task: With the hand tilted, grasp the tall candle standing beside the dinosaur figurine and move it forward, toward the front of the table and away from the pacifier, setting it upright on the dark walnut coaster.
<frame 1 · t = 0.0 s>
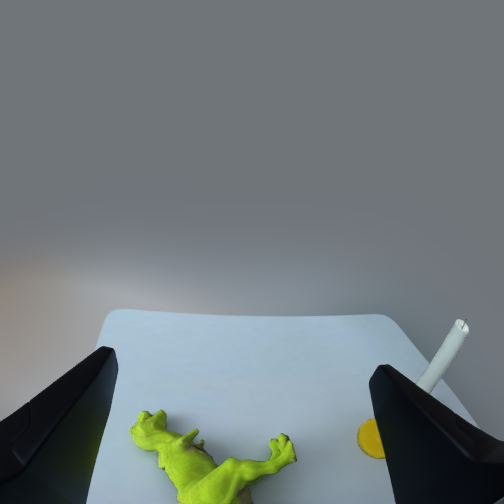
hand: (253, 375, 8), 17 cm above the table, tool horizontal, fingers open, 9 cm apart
dinosaur figurine: (218, 496, 15), on the table
candle: (378, 439, 21), on the table
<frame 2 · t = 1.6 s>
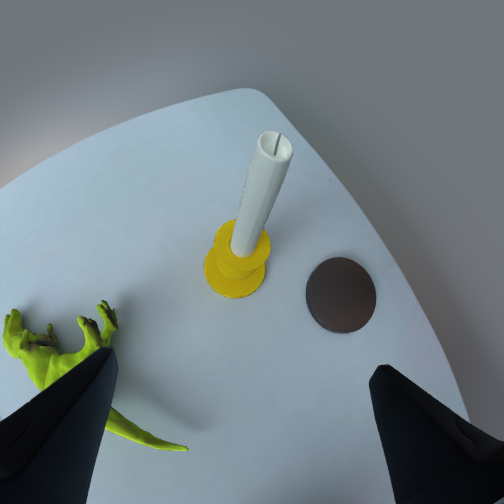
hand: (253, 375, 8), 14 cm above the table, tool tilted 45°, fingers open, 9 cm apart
dinosaur figurine: (84, 379, 18), on the table
candle: (234, 269, 24), on the table
coaster: (340, 295, 24), on the table
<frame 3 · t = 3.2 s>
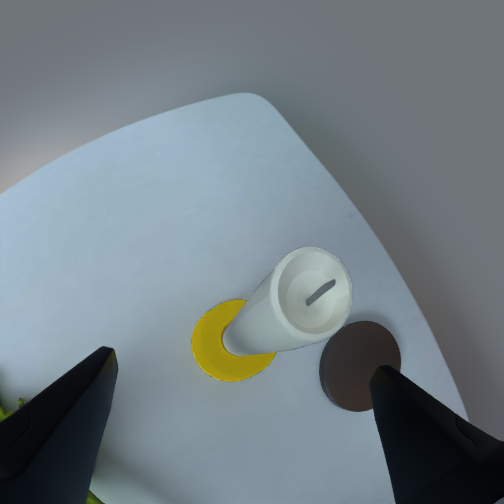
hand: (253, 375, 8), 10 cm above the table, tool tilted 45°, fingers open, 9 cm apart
candle: (230, 343, 18), on the table
coaster: (360, 366, 18), on the table
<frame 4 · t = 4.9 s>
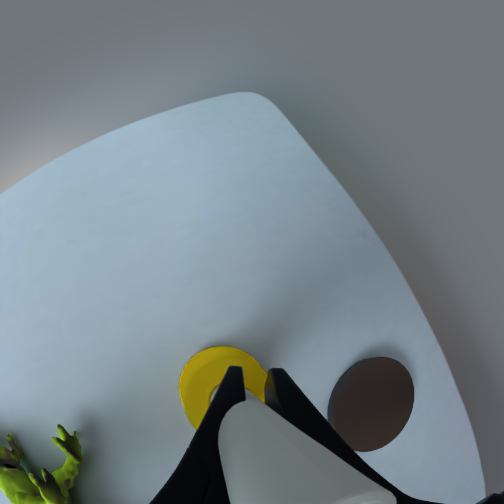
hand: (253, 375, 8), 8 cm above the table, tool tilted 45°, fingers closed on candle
dinosaur figurine: (59, 492, 9), on the table
candle: (223, 387, 15), on the table, touching gripper
coaster: (371, 404, 16), on the table
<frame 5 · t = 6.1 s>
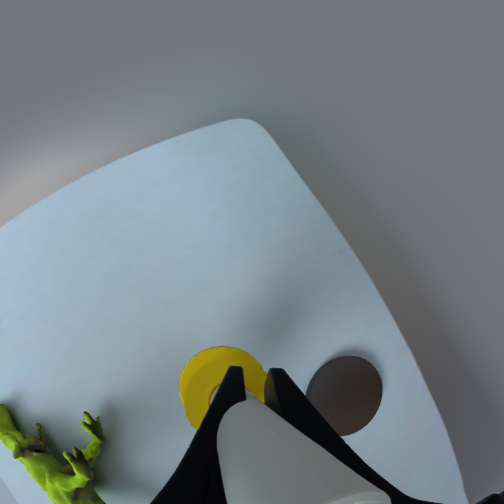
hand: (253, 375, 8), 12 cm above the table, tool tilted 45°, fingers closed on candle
dinosaur figurine: (80, 472, 13), on the table
candle: (223, 387, 15), point 4 cm above the table, touching gripper
coaster: (344, 396, 20), on the table
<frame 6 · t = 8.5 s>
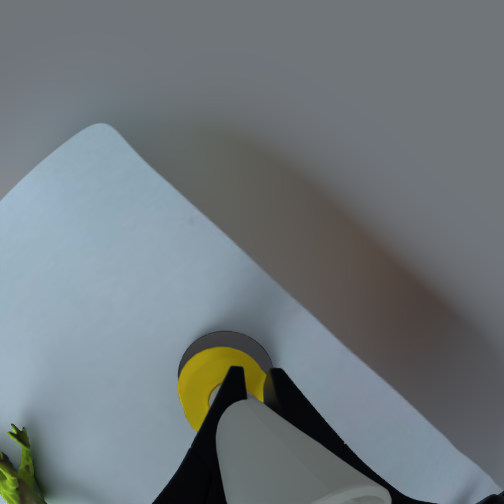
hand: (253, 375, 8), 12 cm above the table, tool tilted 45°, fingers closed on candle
dinosaur figurine: (33, 483, 11), on the table
candle: (222, 388, 15), point 4 cm above the table, touching gripper
coaster: (225, 377, 19), on the table
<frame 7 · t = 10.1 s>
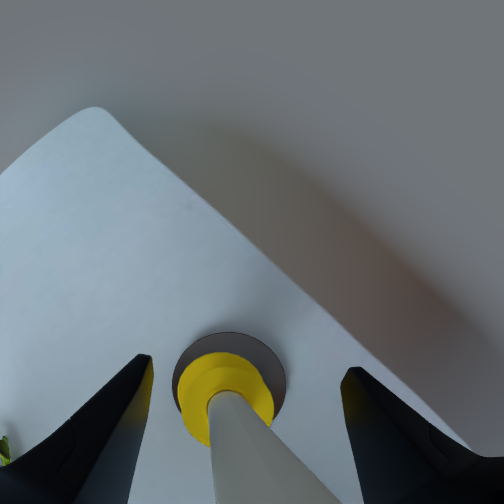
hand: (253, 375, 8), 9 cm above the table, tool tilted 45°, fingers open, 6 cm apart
dinosaur figurine: (17, 496, 8), on the table
candle: (221, 392, 15), point 1 cm above the table, touching coaster
coaster: (228, 386, 16), on the table
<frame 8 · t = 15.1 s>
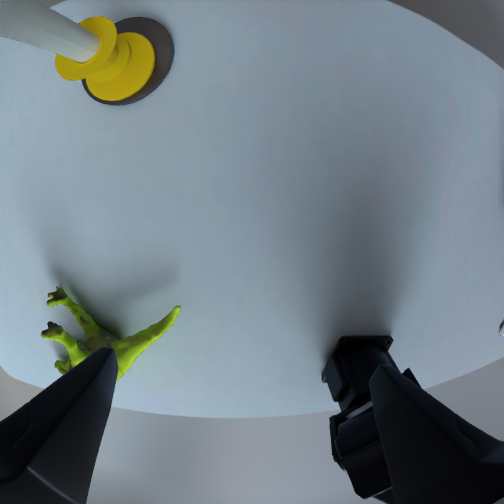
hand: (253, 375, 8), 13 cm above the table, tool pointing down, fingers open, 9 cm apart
dinosaur figurine: (108, 336, 23), on the table
candle: (121, 66, 14), point 1 cm above the table, touching coaster
coaster: (126, 60, 14), on the table
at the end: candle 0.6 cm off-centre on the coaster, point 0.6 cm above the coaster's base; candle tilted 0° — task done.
